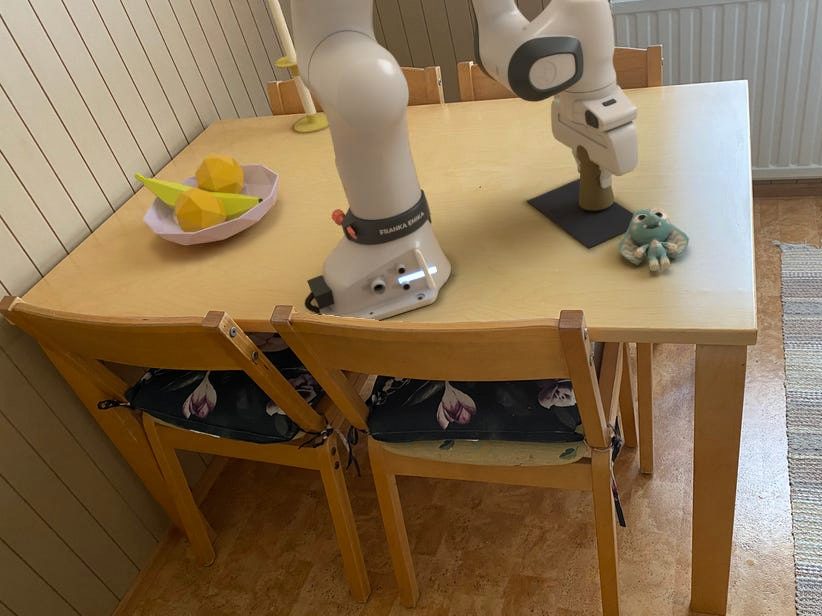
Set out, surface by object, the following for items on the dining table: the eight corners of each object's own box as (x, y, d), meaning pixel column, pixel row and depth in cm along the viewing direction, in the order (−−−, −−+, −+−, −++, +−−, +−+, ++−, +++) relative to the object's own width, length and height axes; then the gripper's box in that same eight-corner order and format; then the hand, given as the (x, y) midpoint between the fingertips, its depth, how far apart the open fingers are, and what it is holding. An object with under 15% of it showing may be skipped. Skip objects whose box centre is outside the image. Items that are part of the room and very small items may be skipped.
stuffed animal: (623, 253, 107) (610, 198, 115) (624, 287, 113) (612, 233, 120) (699, 241, 106) (681, 187, 113) (696, 276, 112) (680, 222, 119)
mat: (589, 248, 119) (588, 247, 119) (527, 202, 134) (527, 200, 134) (646, 223, 122) (645, 221, 122) (579, 180, 136) (579, 178, 136)
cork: (613, 209, 125) (609, 148, 118) (576, 211, 126) (570, 151, 119) (615, 191, 129) (611, 131, 122) (580, 193, 131) (574, 134, 124)
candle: (294, 120, 184) (244, -22, 163) (334, 110, 184) (288, -33, 163) (294, 136, 176) (241, -11, 155) (335, 126, 176) (288, -22, 155)
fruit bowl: (315, 198, 150) (296, 145, 143) (213, 273, 135) (186, 218, 127) (225, 179, 164) (204, 131, 157) (124, 245, 149) (96, 195, 142)
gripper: (537, 88, 123) (546, 165, 132) (608, 125, 108) (613, 209, 117) (570, 76, 125) (577, 152, 133) (644, 111, 110) (646, 194, 119)
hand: (594, 179), depth 125 cm, fingers closed on cork, 4 cm apart
